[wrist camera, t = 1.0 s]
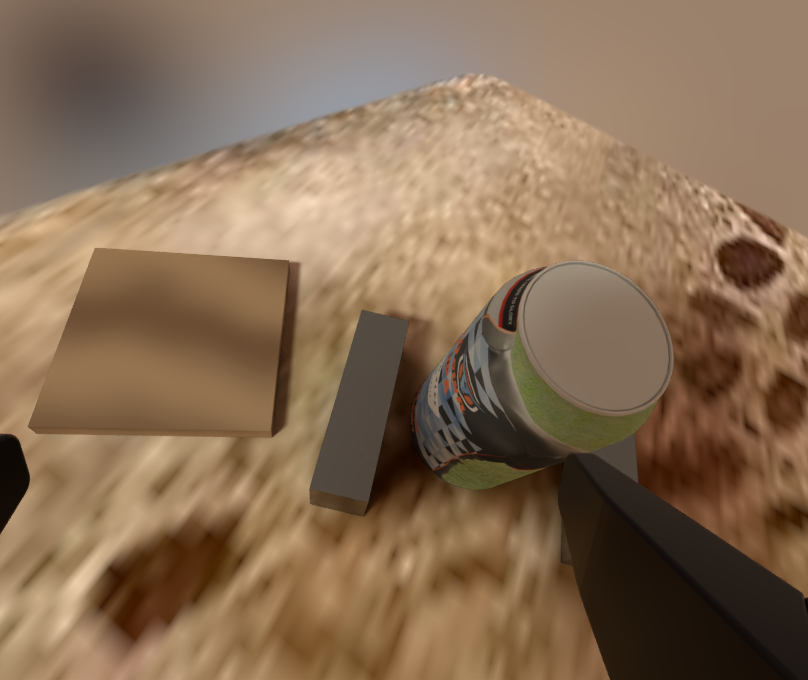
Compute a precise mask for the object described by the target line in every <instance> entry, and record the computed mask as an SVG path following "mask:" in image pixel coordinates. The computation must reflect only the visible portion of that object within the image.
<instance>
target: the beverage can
mask: <svg viewBox="0 0 808 680" xmlns="http://www.w3.org/2000/svg"><path fill="white" fill-rule="evenodd" d="M673 363H674V355H673V345H672V341H671V337H670V333H669V331H668V328H667V326H666V323H665V321H664V319H663V317H662V315H661V314H660V312H659V310H658V309H657V307H656V306H655V304H654V303H653V302H652V300H651V299H650V298H649V297H648V296H647V295H646V294H645V293H644V291H643V290H642V289H641V288H640V287H638V286H637V285H636V284H635V283H634V282H632V281H631V280H630V279H628V278H627V277H625V276H624V275H622V274H621V273H619V272H617V271H615V270H613V269H611V268H609V267H607V266H604V265H601V264H597V263H594V262H588V261H582V260H576V261H564V262H559V263H556V264H554V265H551V266H549V267H542V268H537V269H532V270H529V271H527V272H525V273H522V274H520V275H517V276H516V277H514V278H513V279H511V280H510V281H509V282H507V283H506V284H504V285H503V286H502V287H501V288H500V290H499V291H498V292H497V293H496V294H495V295H494V296H493V297H492V299H491V300H490V301H489V302H488V304H487V305H486V306H485V307H484V308H483V310H482V311H481V312H480V313H479V315H478V316H477V317H476V318H475V320H474V321H473V322H472V323H471V324H470V326H469V327H468V328H467V329H466V331H465V332H464V333H463V334H462V335H461V337H460V338H459V339H458V340H457V342H456V343H455V344H454V345H453V347H452V348H451V349H450V350H449V351H448V353H447V354H446V355H445V356H444V358H443V359H442V360H441V361H440V362H439V364H438V365H437V366H436V367H435V369H434V370H433V371H432V372H431V374H430V375H429V376H428V377H427V378H426V380H425V381H424V382H423V383H422V385H421V386H420V387H419V389H418V391H417V392H416V394H415V397H414V399H413V402H412V405H411V410H410V430H411V436H412V440H413V442H414V445H415V448H416V450H417V452H418V454H419V455H420V457H421V459H422V460H423V461H424V463H425V464H426V465H427V467H428V468H429V469H430V470H431V471H432V472H434V473H435V474H436V475H437V476H438V477H440V478H441V479H443V480H444V481H446V482H448V483H450V484H452V485H455V486H457V487H461V488H465V489H473V490H481V489H488V488H492V487H495V486H498V485H500V484H503V483H506V482H509V481H512V480H514V479H517V478H520V477H523V476H525V475H528V474H531V473H534V472H537V471H539V470H542V469H545V468H548V467H550V466H553V465H556V464H559V463H562V462H564V461H565V458H566V457H567V455H568V454H569V453H571V452H580V453H589V452H592V451H595V450H598V449H600V448H603V447H606V446H609V445H612V444H614V443H617V442H620V441H622V440H624V439H626V438H627V437H629V436H630V435H632V434H633V433H635V432H636V431H637V430H638V429H639V428H640V427H641V426H642V425H643V424H644V423H645V422H646V421H647V420H648V418H649V416H650V415H651V413H652V411H653V410H654V408H655V406H656V404H657V401H658V399H659V398H660V397H661V396H662V395H663V393H664V391H665V390H666V388H667V386H668V385H669V382H670V379H671V376H672V372H673Z"/></svg>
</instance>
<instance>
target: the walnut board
mask: <svg viewBox="0 0 808 680" xmlns="http://www.w3.org/2000/svg"><path fill="white" fill-rule="evenodd" d="M289 271H290V268H289V260H274V259H258V258H243V257H228V256H213V255H197V254H182V253H167V252H152V251H136V250H121V249H106V248H95V249H94V252H93V254H92V257H91V260H90V262H89V265H88V268H87V270H86V273H85V276H84V278H83V281H82V284H81V286H80V289H79V292H78V294H77V297H76V300H75V302H74V305H73V308H72V310H71V313H70V316H69V318H68V321H67V324H66V326H65V329H64V332H63V334H62V337H61V340H60V342H59V345H58V347H57V350H56V353H55V355H54V358H53V361H52V363H51V366H50V369H49V371H48V374H47V377H46V379H45V382H44V385H43V387H42V390H41V393H40V395H39V398H38V401H37V403H36V406H35V409H34V411H33V414H32V417H31V419H30V422H29V425H28V427H29V428H30V429H31V430H33V431H34V432H35V433H36V434H90V435H151V436H213V437H272V433H273V423H274V414H275V404H276V395H277V385H278V376H279V366H280V356H281V347H282V337H283V328H284V318H285V309H286V299H287V290H288V280H289Z"/></svg>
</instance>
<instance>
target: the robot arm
mask: <svg viewBox="0 0 808 680" xmlns="http://www.w3.org/2000/svg"><path fill="white" fill-rule="evenodd" d="M29 483H30V474H29V470H28V467H27V464H26V461H25V457H24V454H23V451H22V448H21V444H20V442H19V440H18V439H17V437H16V436H14V435H12V434H0V534H1V532H2V531H3V529H4V528H5V526H6V524H7V523H8V521H9V519H10V518H11V516H12V514H13V513H14V511H15V510H16V508H17V506H18V505H19V503H20V501H21V500H22V498H23V497H24V495H25V493H26V491H27V489H28V487H29ZM558 505H559V510H560V514H561V518H562V522H563V526H564V531H565V535H566V539H567V543H568V548H569V552H570V556H571V560H572V565H573V569H574V573H575V577H576V581H577V585H578V589H579V593H580V596H581V599H582V602H583V605H584V608H585V611H586V613H587V616H588V619H589V622H590V625H591V628H592V630H593V633H594V636H595V639H596V642H597V644H598V647H599V650H600V653H601V656H602V659H603V661H604V664H605V667H606V670H607V673H608V675H609V678H610V680H808V598H805V597H804V595H803V593H802V592H800V591H799V590H797V589H796V588H794V587H793V586H791V585H790V584H788V583H787V582H785V581H784V580H782V579H781V578H779V577H778V576H776V575H775V574H773V573H772V572H770V571H769V570H767V569H766V568H764V567H763V566H761V565H760V564H758V563H757V562H755V561H754V560H752V559H751V558H749V557H748V556H746V555H745V554H743V553H742V552H740V551H739V550H737V549H736V548H734V547H733V546H731V545H730V544H728V543H727V542H725V541H724V540H722V539H721V538H719V537H718V536H716V535H715V534H713V533H712V532H711V531H709V530H708V529H706V528H705V527H703V526H702V525H700V524H699V523H697V522H696V521H694V520H693V519H691V518H690V517H688V516H687V515H685V514H684V513H682V512H681V511H679V510H678V509H676V508H675V507H673V506H672V505H670V504H669V503H667V502H666V501H664V500H663V499H661V498H660V497H658V496H657V495H655V494H654V493H652V492H651V491H649V490H648V489H646V488H645V487H643V486H642V485H640V484H639V483H637V482H636V481H634V480H633V479H631V478H630V477H628V476H627V475H625V474H624V473H622V472H621V471H619V470H618V469H616V468H615V467H613V466H612V465H610V464H609V463H607V462H606V461H604V460H603V459H601V458H600V457H598V456H597V455H595V454H593V453H580V452H571V453H569V454H568V455H567V457H566V458H565V462H564V467H563V471H562V476H561V481H560V486H559V491H558Z"/></svg>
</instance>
